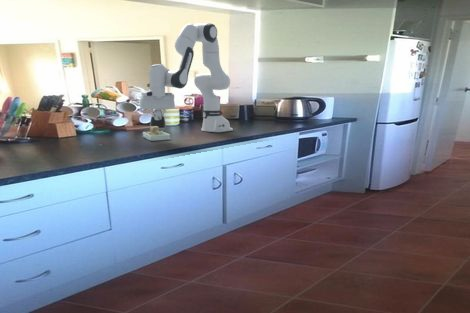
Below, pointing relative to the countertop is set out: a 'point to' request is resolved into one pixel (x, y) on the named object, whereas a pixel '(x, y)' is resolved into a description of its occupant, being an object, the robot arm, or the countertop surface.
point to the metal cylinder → (157, 114)
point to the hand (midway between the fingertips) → (157, 116)
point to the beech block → (154, 130)
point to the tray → (156, 136)
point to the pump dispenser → (158, 123)
